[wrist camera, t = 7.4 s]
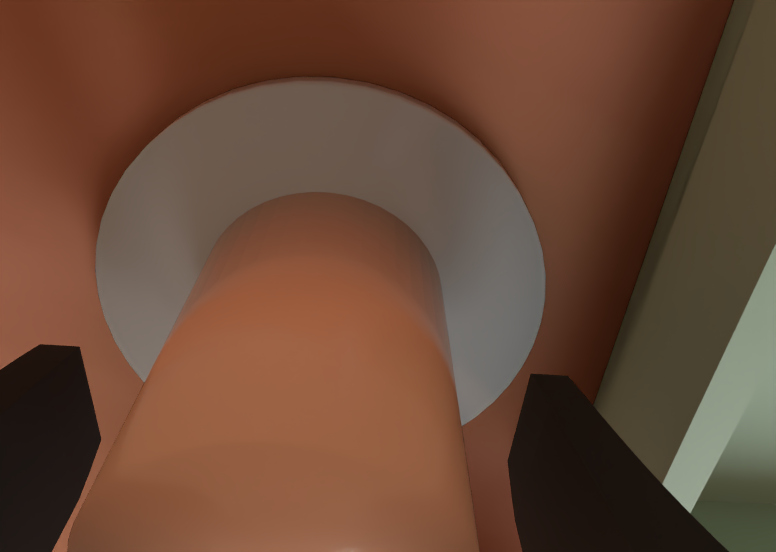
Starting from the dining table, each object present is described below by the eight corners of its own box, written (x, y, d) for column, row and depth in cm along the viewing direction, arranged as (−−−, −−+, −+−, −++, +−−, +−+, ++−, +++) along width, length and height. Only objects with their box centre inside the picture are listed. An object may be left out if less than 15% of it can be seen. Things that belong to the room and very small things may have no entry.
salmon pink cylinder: (424, 399, 14) (446, 696, 9) (208, 381, 13) (97, 677, 8) (461, 205, 11) (524, 461, 6) (197, 178, 11) (29, 423, 6)
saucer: (498, 452, 15) (501, 471, 15) (138, 433, 15) (130, 451, 15) (586, 97, 11) (597, 107, 10) (67, 55, 10) (51, 63, 10)
